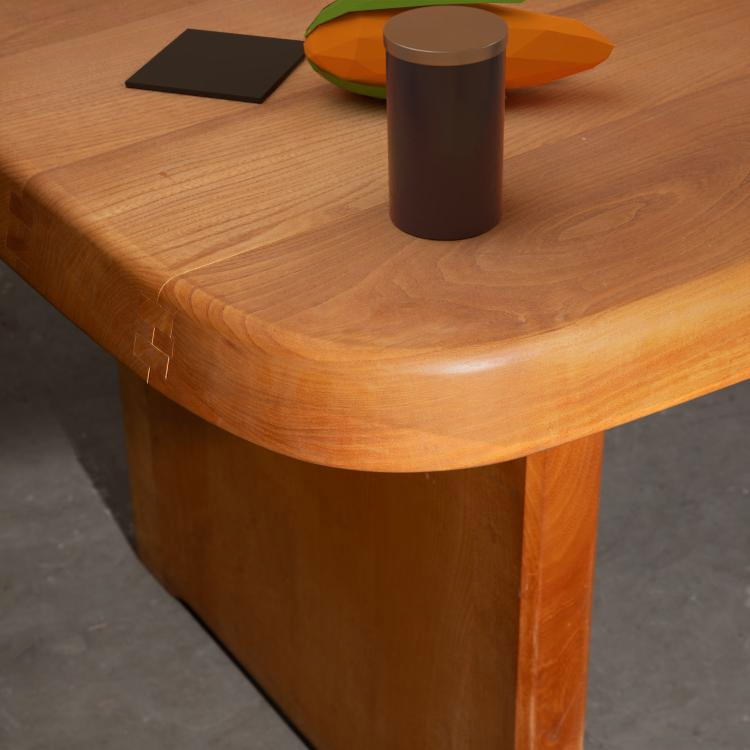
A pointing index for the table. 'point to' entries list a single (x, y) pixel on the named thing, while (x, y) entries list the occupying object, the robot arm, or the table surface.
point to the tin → (445, 120)
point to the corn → (380, 3)
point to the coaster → (220, 65)
